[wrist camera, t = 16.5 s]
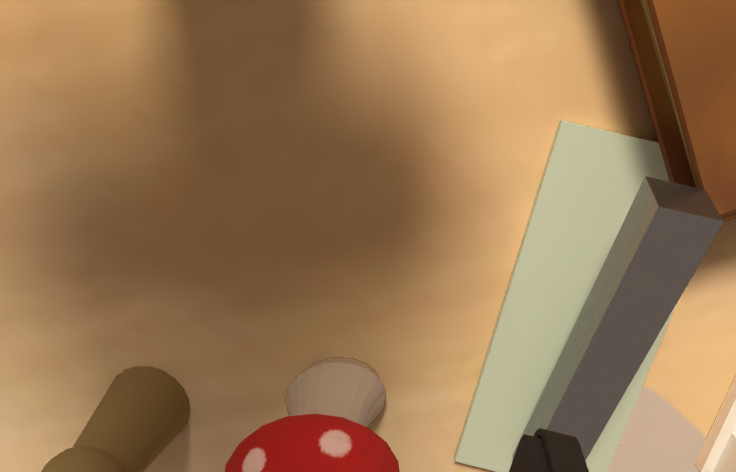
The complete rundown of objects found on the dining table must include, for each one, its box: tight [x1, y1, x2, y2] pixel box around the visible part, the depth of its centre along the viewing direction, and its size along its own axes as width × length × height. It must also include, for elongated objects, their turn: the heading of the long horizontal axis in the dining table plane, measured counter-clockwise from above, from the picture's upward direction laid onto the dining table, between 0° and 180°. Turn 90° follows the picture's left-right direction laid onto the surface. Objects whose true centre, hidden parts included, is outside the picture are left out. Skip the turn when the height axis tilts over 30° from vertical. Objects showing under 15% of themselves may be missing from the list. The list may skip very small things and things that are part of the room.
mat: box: [454, 119, 676, 472], centre depth 41 cm, size 24×10×1 cm, turn 167°
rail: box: [512, 176, 724, 461], centre depth 37 cm, size 22×3×3 cm, turn 167°
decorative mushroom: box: [225, 357, 399, 472], centre depth 37 cm, size 10×9×15 cm
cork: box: [41, 367, 190, 472], centre depth 41 cm, size 6×6×11 cm
